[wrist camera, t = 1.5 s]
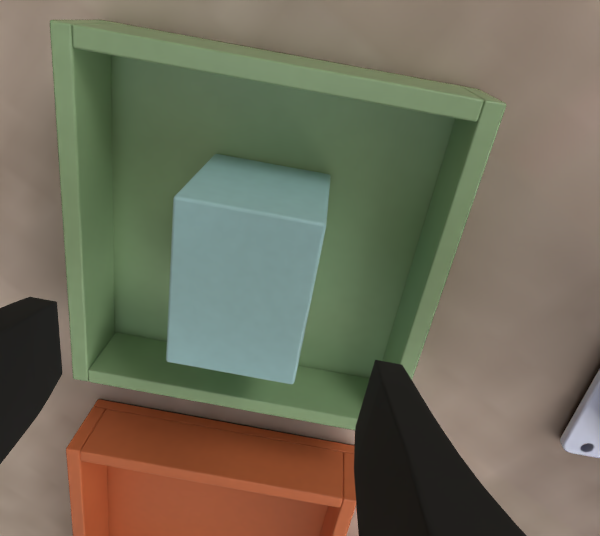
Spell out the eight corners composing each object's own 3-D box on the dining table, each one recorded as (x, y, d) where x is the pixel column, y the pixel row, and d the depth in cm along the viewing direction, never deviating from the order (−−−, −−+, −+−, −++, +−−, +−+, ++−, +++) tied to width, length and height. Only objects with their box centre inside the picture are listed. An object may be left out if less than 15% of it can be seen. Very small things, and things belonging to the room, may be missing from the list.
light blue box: (331, 173, 17) (326, 224, 12) (304, 307, 19) (294, 386, 15) (214, 152, 17) (172, 195, 12) (203, 289, 19) (164, 362, 15)
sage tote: (479, 89, 15) (507, 103, 13) (386, 384, 21) (392, 437, 18) (99, 19, 15) (48, 19, 13) (106, 333, 21) (72, 379, 18)
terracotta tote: (356, 445, 23) (357, 501, 20) (311, 594, 28) (307, 654, 26) (97, 398, 23) (65, 448, 20) (103, 557, 28) (78, 613, 26)
